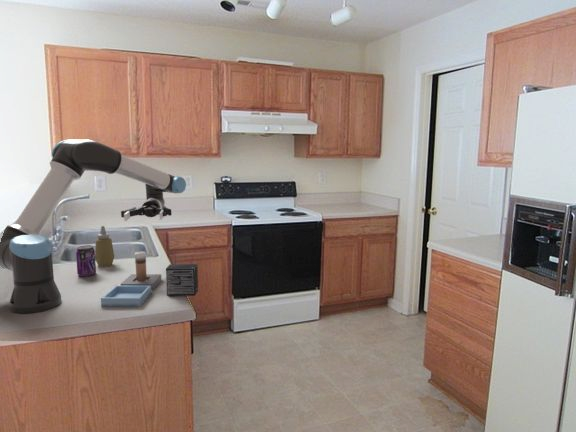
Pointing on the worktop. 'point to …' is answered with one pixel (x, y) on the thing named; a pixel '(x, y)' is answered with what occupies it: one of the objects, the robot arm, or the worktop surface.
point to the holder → (151, 281)
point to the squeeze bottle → (104, 249)
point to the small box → (182, 279)
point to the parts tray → (126, 296)
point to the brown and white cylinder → (140, 266)
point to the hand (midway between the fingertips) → (142, 216)
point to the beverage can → (85, 260)
